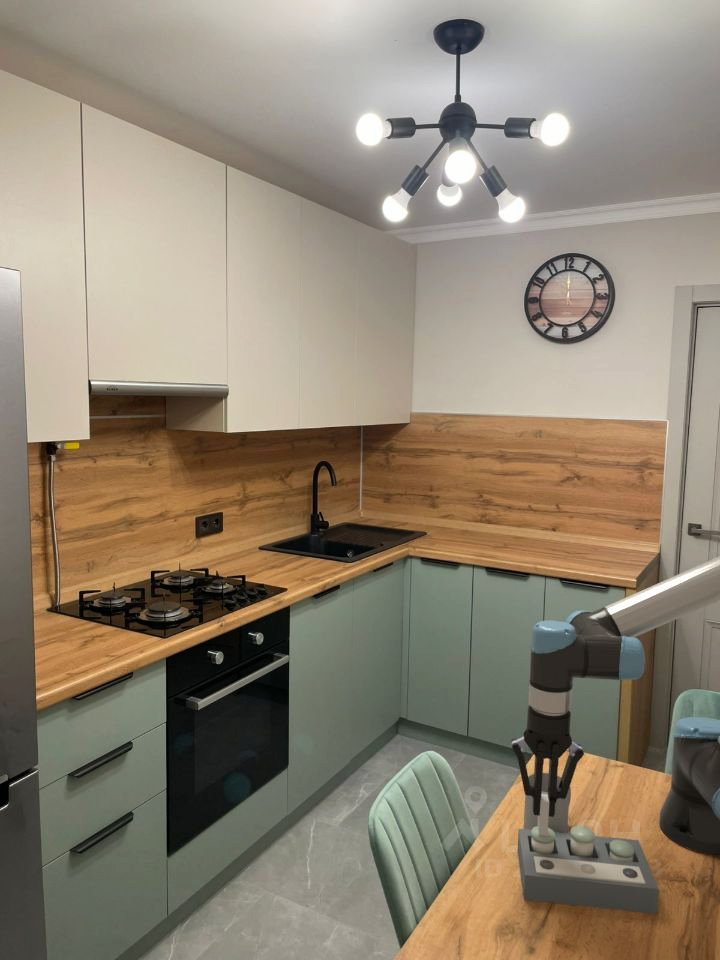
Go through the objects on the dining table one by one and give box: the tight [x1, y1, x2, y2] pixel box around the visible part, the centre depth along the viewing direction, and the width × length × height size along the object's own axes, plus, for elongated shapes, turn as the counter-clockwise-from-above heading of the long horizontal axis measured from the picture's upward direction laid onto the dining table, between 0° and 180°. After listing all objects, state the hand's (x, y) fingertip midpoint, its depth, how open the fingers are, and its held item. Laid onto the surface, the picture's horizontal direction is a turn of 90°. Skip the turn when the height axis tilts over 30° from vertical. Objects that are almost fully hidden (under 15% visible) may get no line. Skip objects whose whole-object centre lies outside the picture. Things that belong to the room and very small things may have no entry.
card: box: [534, 856, 645, 885], centre depth 126 cm, size 18×4×1 cm, turn 82°
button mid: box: [570, 825, 596, 858], centre depth 132 cm, size 4×4×4 cm
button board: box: [517, 828, 660, 915], centre depth 130 cm, size 22×14×4 cm, turn 82°
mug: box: [522, 772, 572, 833], centre depth 145 cm, size 12×8×11 cm
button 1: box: [531, 826, 555, 854], centre depth 133 cm, size 4×4×4 cm
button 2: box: [609, 840, 634, 862], centre depth 132 cm, size 4×4×4 cm
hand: (542, 831), depth 133 cm, fingers closed
